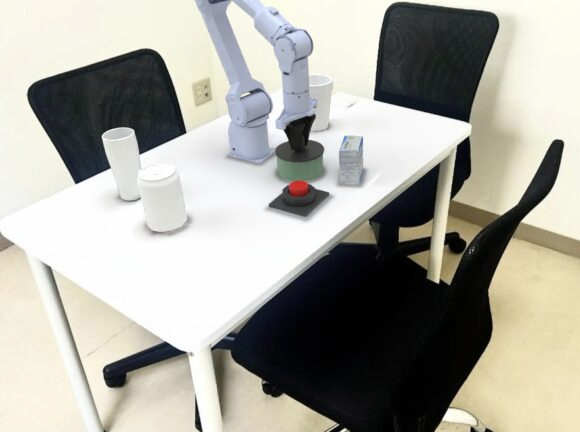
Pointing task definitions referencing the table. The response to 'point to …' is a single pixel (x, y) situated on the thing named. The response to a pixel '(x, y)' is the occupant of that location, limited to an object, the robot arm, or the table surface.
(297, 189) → the button
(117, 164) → the drinking glass
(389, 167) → the table surface
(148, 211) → the beverage can
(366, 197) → the table surface
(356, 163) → the medicine box
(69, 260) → the table surface
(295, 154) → the lid
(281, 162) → the green pot
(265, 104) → the robot arm
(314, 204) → the button base
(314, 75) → the foam cup
